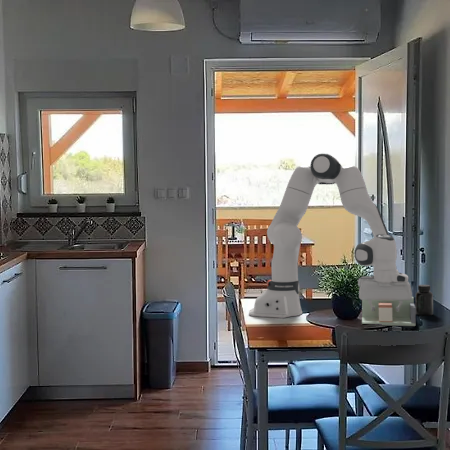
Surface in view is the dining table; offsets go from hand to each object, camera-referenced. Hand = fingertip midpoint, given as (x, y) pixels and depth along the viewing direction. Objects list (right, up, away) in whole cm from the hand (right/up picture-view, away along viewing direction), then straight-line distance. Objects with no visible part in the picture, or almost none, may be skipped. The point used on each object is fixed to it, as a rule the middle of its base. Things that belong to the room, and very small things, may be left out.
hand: (385, 311), depth 267 cm
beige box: (0, -3, 0) cm, 3 cm away
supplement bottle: (+19, -3, +13) cm, 23 cm away
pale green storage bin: (+1, -4, +1) cm, 5 cm away
